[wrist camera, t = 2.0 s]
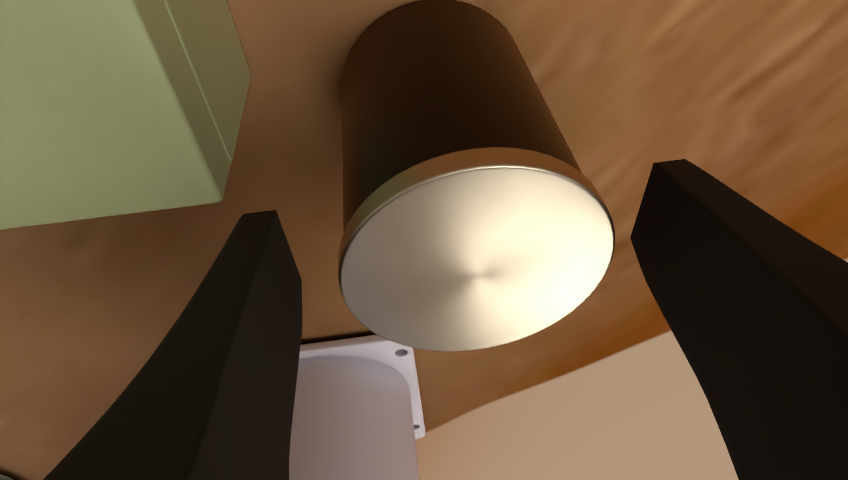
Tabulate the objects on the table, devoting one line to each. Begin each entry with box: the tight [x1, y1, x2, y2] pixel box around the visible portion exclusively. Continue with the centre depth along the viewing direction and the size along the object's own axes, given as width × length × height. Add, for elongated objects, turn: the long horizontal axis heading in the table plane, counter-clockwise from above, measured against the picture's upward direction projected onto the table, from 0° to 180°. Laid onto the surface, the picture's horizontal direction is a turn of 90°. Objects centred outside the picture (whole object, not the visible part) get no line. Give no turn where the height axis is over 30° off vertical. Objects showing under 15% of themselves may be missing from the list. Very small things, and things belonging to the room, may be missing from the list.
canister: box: [338, 0, 615, 351], centre depth 12 cm, size 5×5×6 cm
